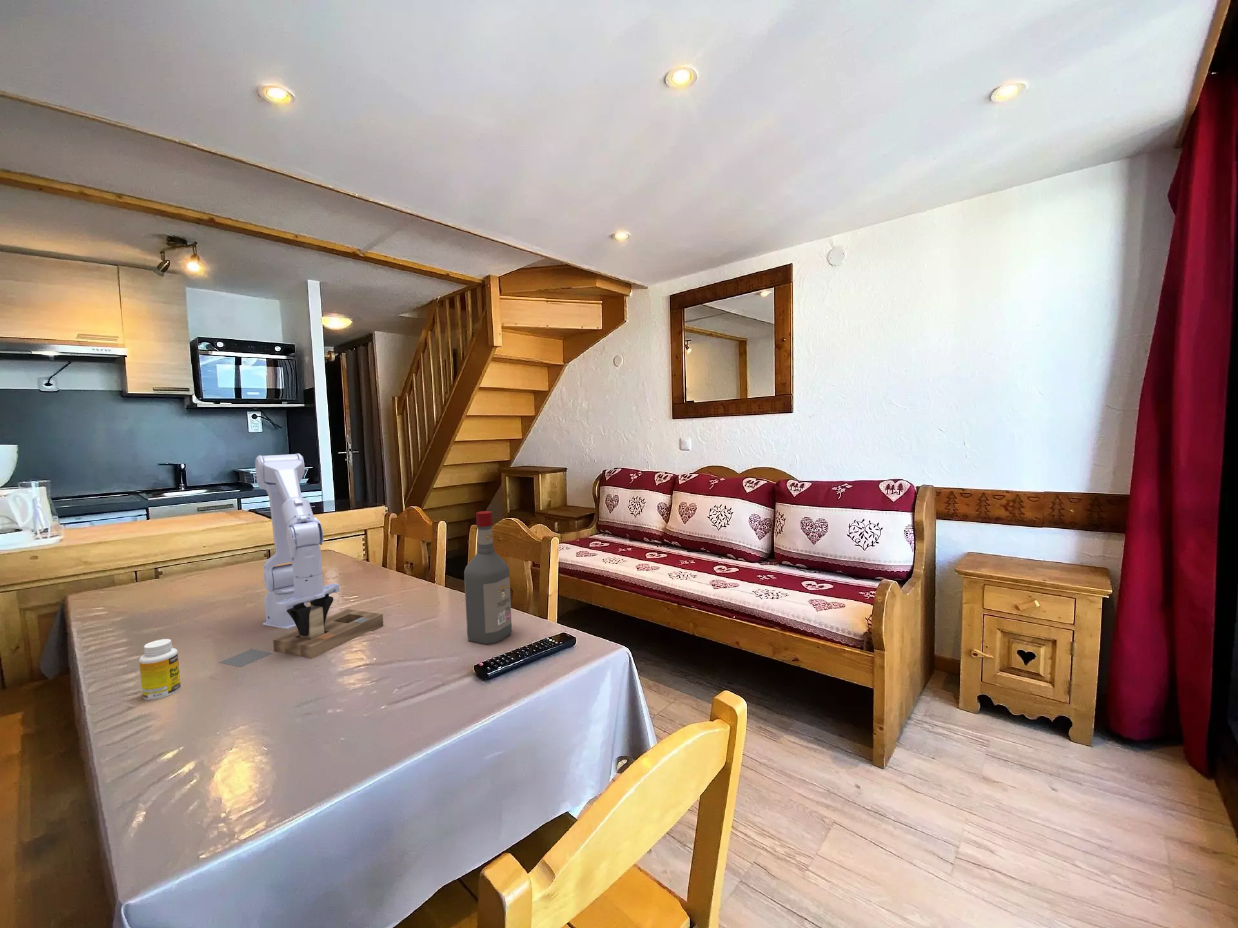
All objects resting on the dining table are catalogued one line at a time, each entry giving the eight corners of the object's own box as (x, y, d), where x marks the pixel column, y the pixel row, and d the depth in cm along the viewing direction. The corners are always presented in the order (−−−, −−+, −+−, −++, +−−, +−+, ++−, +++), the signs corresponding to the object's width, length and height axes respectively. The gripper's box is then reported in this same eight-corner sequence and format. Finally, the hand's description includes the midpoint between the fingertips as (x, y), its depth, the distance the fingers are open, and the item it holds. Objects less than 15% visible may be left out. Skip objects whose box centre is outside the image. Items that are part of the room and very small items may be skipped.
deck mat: (218, 664, 112) (218, 662, 112) (251, 650, 119) (251, 648, 119) (240, 668, 110) (240, 667, 110) (272, 654, 116) (272, 653, 116)
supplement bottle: (176, 697, 99) (171, 645, 98) (138, 704, 96) (132, 651, 96) (185, 684, 104) (180, 634, 103) (149, 690, 101) (144, 640, 101)
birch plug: (300, 644, 119) (298, 610, 118) (314, 638, 122) (311, 605, 122) (311, 646, 118) (309, 612, 117) (324, 640, 121) (322, 606, 120)
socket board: (274, 652, 118) (273, 639, 117) (348, 619, 136) (347, 608, 136) (312, 659, 113) (311, 646, 113) (383, 625, 132) (382, 613, 132)
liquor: (516, 631, 126) (511, 510, 124) (492, 646, 118) (487, 516, 116) (486, 626, 130) (481, 508, 128) (461, 640, 122) (455, 514, 119)
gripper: (290, 585, 111) (294, 646, 112) (347, 567, 124) (351, 622, 125) (267, 582, 113) (272, 642, 114) (325, 564, 127) (329, 618, 128)
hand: (312, 631), depth 120 cm, fingers closed on birch plug, 3 cm apart
